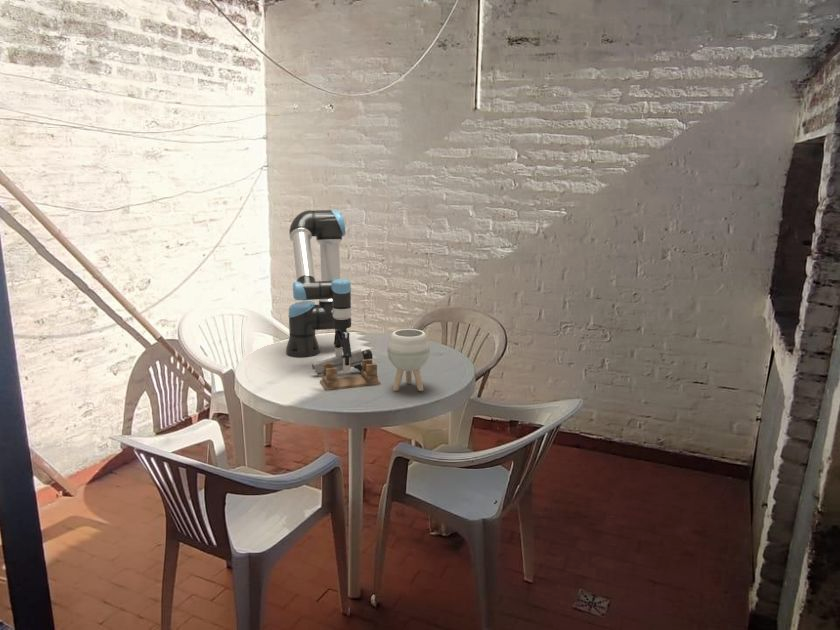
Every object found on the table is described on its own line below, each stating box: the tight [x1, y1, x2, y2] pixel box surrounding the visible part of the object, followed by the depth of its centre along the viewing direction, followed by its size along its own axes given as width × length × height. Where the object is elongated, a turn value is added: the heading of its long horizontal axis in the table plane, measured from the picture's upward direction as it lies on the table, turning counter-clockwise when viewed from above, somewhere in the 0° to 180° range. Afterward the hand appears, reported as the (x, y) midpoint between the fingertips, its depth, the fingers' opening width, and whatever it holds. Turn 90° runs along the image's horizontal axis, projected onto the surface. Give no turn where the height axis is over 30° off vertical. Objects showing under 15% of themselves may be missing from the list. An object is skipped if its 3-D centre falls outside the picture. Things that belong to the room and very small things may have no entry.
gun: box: [311, 348, 374, 378], centre depth 263 cm, size 2×25×10 cm, turn 106°
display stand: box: [319, 358, 381, 391], centre depth 252 cm, size 22×10×8 cm, turn 110°
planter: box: [387, 328, 431, 392], centre depth 245 cm, size 16×16×22 cm
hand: (342, 367), depth 263 cm, fingers open, 13 cm apart
